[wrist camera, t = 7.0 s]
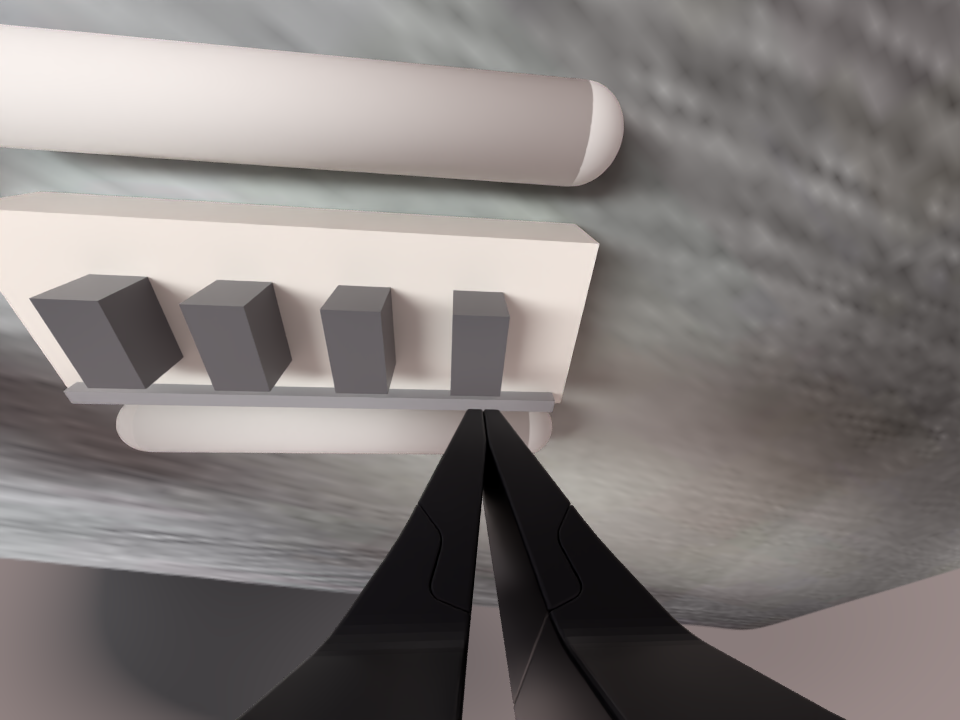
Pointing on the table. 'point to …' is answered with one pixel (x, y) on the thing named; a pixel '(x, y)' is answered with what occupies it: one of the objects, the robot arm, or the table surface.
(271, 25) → the table surface
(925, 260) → the table surface
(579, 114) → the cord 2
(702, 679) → the robot arm
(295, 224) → the breaker strip
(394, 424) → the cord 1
